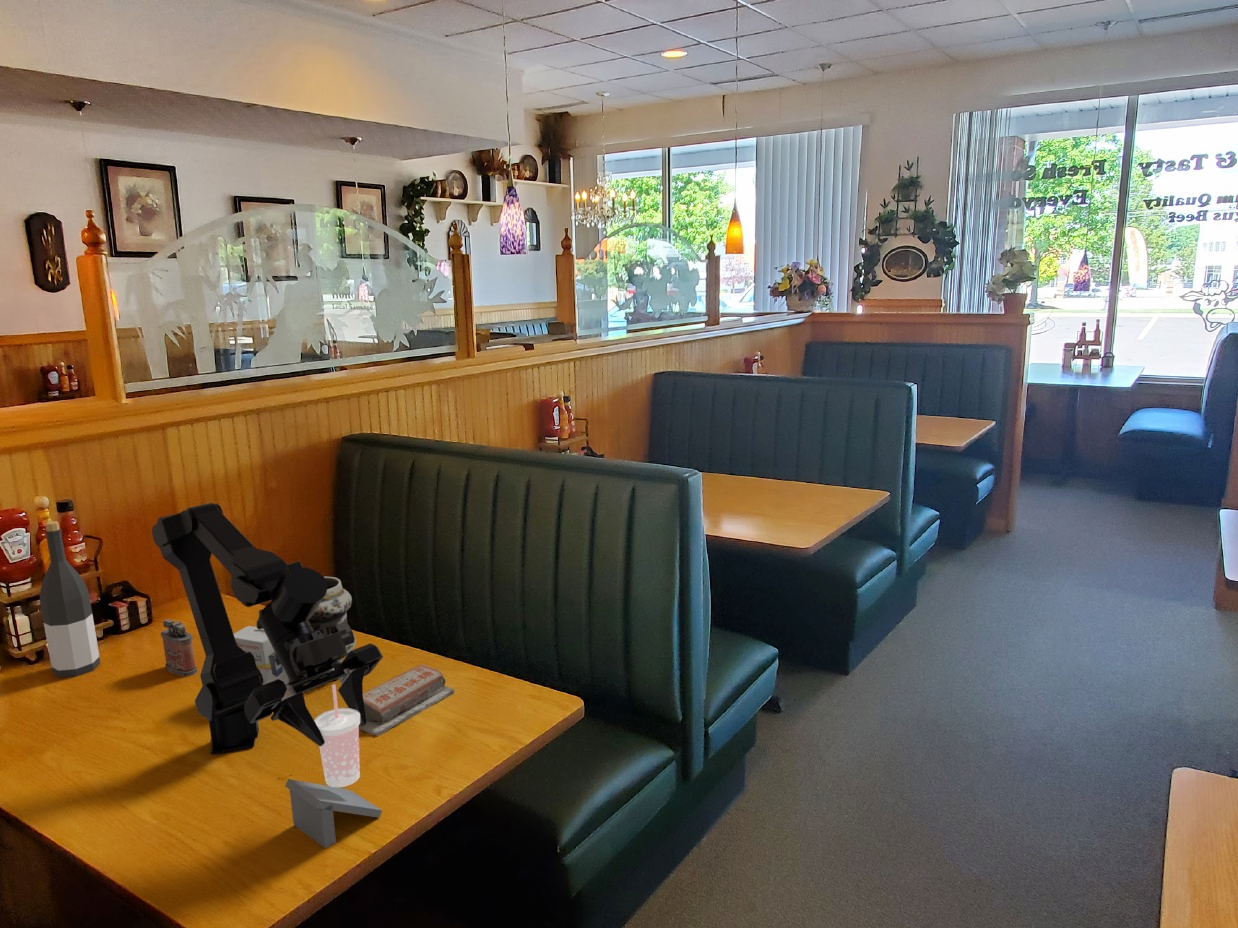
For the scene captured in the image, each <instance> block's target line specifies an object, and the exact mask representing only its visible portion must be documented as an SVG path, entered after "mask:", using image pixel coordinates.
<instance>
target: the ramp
mask: <svg viewBox="0 0 1238 928" xmlns="http://www.w3.org/2000/svg"><path fill="white" fill-rule="evenodd" d="M284 787H286V788H287V789H288V790H289V796H290V797H289V798H290V803H291V813H292V814H291V815H292V821H293V826H294V827H295V828H297V829H298V830H300V831H301V832H303V834H305V835H307V836H308V837H310V838H311V839H312V840H313V841H315V842H317V844H319V845H320V846H322V847H323V848H324V849H327V848H328V847H330V846H332V845H334V844H336V843H337V839H336V837H337V836H336V829H335V827H336V826H335V821H334V820H335V818H334V812H340V813H347V814H354V815H359V816H367V817H373V818H380V817H381V815H382V812H383V810H382V809H381V808H380V807H378V806H377V805H375V804H373V803H371V802H370V801H368V800H367V799H365V798H363V796H360V795H359V794H357V793H356V792H354V791H352V790H351V789H346V788H343V787H331V786H328V785H325V784H319V783H314V782H313V783H312V782H306V781H301V780H296V779H290V778H288V779H287V781H286V783H285V785H284Z"/></svg>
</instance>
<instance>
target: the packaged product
mask: <svg viewBox="0 0 1238 928" xmlns="http://www.w3.org/2000/svg"><path fill="white" fill-rule="evenodd" d="M446 681H447V679H446V678H445V677H444V675H443V673H442V671H440V669H438V668H437V669H436V668H434V667H431V666H428V665H425V664H419V665H417V666H414V667H413V668H411V669H409V670H407V671H405V672H403V673H401V674H399V675H396V676H395V677H393V678H390V679H389V680H386V681H384V682H383V683H381V684H379V685H376V687H373V688H372V689H369V690H367V691H365V692H364V693H363V700H364V707H365V714H366V722H367V723H366V725H365V726H363V727H362V726H361V725H360V724H359V731H364V732H366V733H368V734H369V735H373V736H375V735H376V737H379V736H381V735H383V734H385V733H386V732H388V731H389V730H390V729H392V728H394V727H395V726H397V725H400V724H401V723H404V722H405V721H407V720H409V719H411V718H413V717H414V716H416V715H418V714H420V713H422V712H423V710H424V711H425V710H427V709H429V708H430V707H432V706H433V705H436V704H437V703H439V702H440V701H441V700H444V699H445V698H447V697H449V696H451V695H452V694H454V693H455V688H451V687H449V686H446V685H445V684H446ZM382 733H383V734H382Z"/></svg>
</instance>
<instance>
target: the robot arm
mask: <svg viewBox="0 0 1238 928" xmlns="http://www.w3.org/2000/svg"><path fill="white" fill-rule="evenodd" d="M151 527H152V528H151V536H152V540H153V542H154V544H155V545H156V546H157V547H158V548H159V551H160V554H161V556H162V558H163V559H164V560H165V561H166V562H168V563H169V564H170V565H172V566H173V567H174V568H175V569H177V570H178V572H179V576H180V579H181V581H182V585H183V587H184V590H185V594H186V597H187V601H188V603H189V607H190V610H191V613H192V616H193V619H194V623H195V626H196V628H197V631H198V635H199V639H200V641H201V645H202V648H203V651H204V655H205V658H204V660H203V664H202V665H203V666H202V669H201V671H200V674H199V675H200V680H201V684H202V686H201V688H200V690H199V692H198V694H197V695H196V698H195V699H194V703H195V706H196V707H195V708H196V710H197V711H196V712H197V713H198V714H199V715H201V716H202V717H203V718H205V719H207V721H208V725H209V732H210V738H211V739H210V741H211V747H210V754H212V755H215V754H220V753H221V754H222V753H226V752H227V753H228V752H233V751H238V750H244V749H250V748H253V747H255V743H256V739H257V738H258V737H259V733H260V726H259V721H262V720H264V719H266V718H269V717H270V720H271V721H272V722H274V721H276V720H279V721H280V722H282V723H285V725H286V724H287V726H289V727H291V728H293V729H295V730H297V731H298V732H300V734H302V735H304V736H305V737H306V738H307V739H308V740H310V741H311V742H313V743H315V745H317V746H323V745H324V743H325V741H324V739H323V736H322V734H321V732H320V730H319V728H318V726H317V725H316V723H315V721H314V720H315V719H314V718H313V716H312V715H311V713H310V711H309V710H308V708H307V705H306V702H305V701H306V699H305V695H304V693H306V692H309V691H311V690H313V689H316V688H318V687H321V686H323V685H325V684H328V683H330V682H334V681H336V679H337V680H339V682H340V684H341V685H340V686H339V688H338V690H337V691H338V693H339V695H340V696H341V698H342V699H343V701H344V703H345V704H346V707H347V708H351V709H354V710H357V711H358V712H359V713H360V725H361V726H362V727H363V726H365V725H366V723H367V722H366V714H365V707H364V700H363V690H364V689H363V680H364V677H366V676H368V675H369V674H371V673H372V672H373V671H374V669H375V668H376V667H377V665H378V664H379V663H380V662H381V661H382V659H383V658H384V655H383V653H382V652H381V650H380V649H379V647H378V646H377V645H374V644H373V643H371V642H370V643H368V644H364V645H362V646H359V647H358V648H355V649H354V648H353V650H352V651H350V652H349V653H348V655H347V656H345V657H344V658H343V662H342V663H339V664H337V665H334V666H332V663H333V662H335V661H336V660H337V659H338V656H337V655H343V654H346V653H347V650H346V647H345V646H347V645H349V644H352V643H354V641H355V638H356V636H355V637H354V635H355V634H354V632H353V630H352V628H351V627H350V625H349V624H348V621H347V622H344V623H341V624H338V625H335V626H333V627H331V634H330V635H327V636H325V637H324V636H323V635H322V633H321V632H320V631H319V630H318V629H317V630H313V629H312V627H311V625H310V623H309V621H308V619H309V618H310V617H311V616H312V615H313V613H314V612H315V610H316V609H317V607H318V606H319V604H320V602H321V601H322V599H323V598H324V596H325V594H326V592H327V582H326V579H325V578H324V577H325V576H324V575H321V573H320V572H318V571H317V570H315V569H312V568H309V567H303V564H302V563H301V561H299V560H298V561H294V562H291V563H287V562H286V561H285V560H284V559H282V557H279V556H278V555H277V554H276V553H274V552H272V551H269V550H264V549H259V548H257V547H255V546H254V544H252V542H251V541H250V540H248V538H247V537H246V536H245V535H244V534H243V533H242V532H241V531H240V530H239V529H238V528H237V527H236V526H235V524H233V523H232V522H231V521H230V519H228V518H227V517H226V515H225V514H224V512H223V509H222V507H221V506H220V504H218V503H213V502H208V503H204V504H200V505H199V504H198V505H195V506H190V507H187V508H186V509H184V510H182V511H181V512H178V513H174V514H169V515H165V516H160V517H158V519H157V521H156V523H155V524H154V525H153V526H151ZM212 555H213V556H214V557H215V558H216V559H217V561H219V563H220V564H221V565H222V566H223V567H224V568H225V569H226V570H227V572H228V573H229V574H230V576H231V577H230V589H231V590H232V592H233V594H234V597H235V599H236V600H237V601H239V602H240V603H241V604H242V605H243V606H244V607H247V608H250V607H255V606H258V605H261V604H264V603H266V602H268V603H267V604H266V605H265V606H264V607H263V608H262V609H260V610H259V611H258V619H257V620H256V627H257V629H259V630H260V629H264V631H265V633H266V635H267V637H268V639H269V641H270V643H271V645H272V647H273V649H274V651H275V653H276V654H277V656H276V658H275V659H274V660H275V662H276V664H277V666H278V665H281V664H282V666H283V668H284V670H285V672H286V674H287V676H288V679H289V683H288V684H286V685H285V684H284V682H283V681H281V680H279V679H277V680H275V681H272V682H270V683H267V684H265V685H263V677H262V674H261V672H260V670H259V669H258V668H257V666H256V662H255V658H254V655H253V654H252V653H251V652H247V653H246V652H245V651H244V650H243V649H241V648H240V647H239V646H238V645H237V643H236V640H235V637H234V631H233V629H232V628H233V627H232V625H231V623H230V622H231V621H230V619H229V615H228V613H227V609H226V606H225V603H224V599H223V597H222V593H221V590H220V587H219V585H218V581H217V578H216V574H215V571H214V568H213V565H212V562H211V558H212ZM326 675H327V676H326ZM324 676H326V677H324ZM322 677H324V678H322ZM320 678H321V679H320ZM333 680H334V681H333Z"/></svg>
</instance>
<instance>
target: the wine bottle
mask: <svg viewBox="0 0 1238 928" xmlns="http://www.w3.org/2000/svg"><path fill="white" fill-rule="evenodd" d="M44 534H45V537H46V543H47V548H48V553H49V560H50V563H49V566H48V568H47V570H46V572H45V574H44V576H43V579H42V583H41V586H40V587H41V588H40V590H39V591H40V592H39V593H40V594H39V605H40V610H41V611H40V612H41V615H42V621H43V622H42V623H43V626H44V633H45V637H46V644H47V648H48V654H49V660H50V661H49V662H50V666H51V667H50V668H51V671H52V673H53V675H55V676H57V677H58V678H72V677H74V678H75V677H78V676H81V675H84V674H87V673H91V672H93V671H95V670H96V668H97V667H98V666H99V665H100V664H101V659H100V651H99V647H98V646H99V645H98V640H97V639H98V638H97V633H96V628H95V622H94V616H93V609H92V603H91V597H90V593H89V588H88V587H87V585H86V583H85V580H84V579H83V578H82V576H81V575H80V573H79V572H78V571H77V570H76V569H75V568H74V567H73V566H72V565H71V563H70V562H69V561H68V560H67V557H66V552H65V546H64V541H63V536H62V535H63V534H62V528H60V524H59V521H48V522H46V523H45V531H44Z"/></svg>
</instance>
